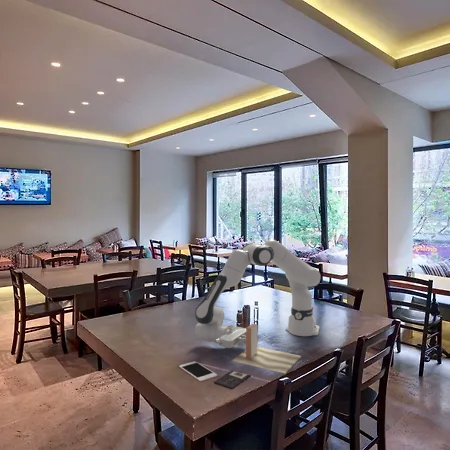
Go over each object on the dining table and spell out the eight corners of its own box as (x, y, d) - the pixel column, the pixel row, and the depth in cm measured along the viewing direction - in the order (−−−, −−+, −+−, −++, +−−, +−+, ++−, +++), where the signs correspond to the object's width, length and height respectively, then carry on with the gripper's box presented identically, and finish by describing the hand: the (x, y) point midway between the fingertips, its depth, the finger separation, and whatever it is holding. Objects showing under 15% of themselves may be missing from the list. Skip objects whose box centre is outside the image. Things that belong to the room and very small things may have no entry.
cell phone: (200, 382, 148) (200, 380, 148) (178, 367, 163) (178, 365, 163) (217, 377, 153) (217, 374, 153) (195, 362, 168) (195, 360, 168)
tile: (252, 351, 179) (252, 323, 178) (257, 353, 177) (257, 324, 177) (245, 356, 173) (246, 327, 172) (251, 358, 171) (251, 328, 171)
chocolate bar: (213, 381, 147) (238, 366, 162) (213, 384, 147) (238, 368, 162) (232, 388, 142) (255, 371, 157) (232, 390, 142) (255, 373, 157)
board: (251, 346, 187) (251, 345, 187) (301, 357, 174) (301, 355, 174) (231, 362, 168) (231, 360, 168) (285, 374, 155) (285, 373, 155)
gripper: (213, 335, 173) (238, 340, 166) (233, 323, 191) (257, 328, 184) (213, 348, 173) (238, 353, 167) (233, 335, 191) (257, 340, 184)
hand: (248, 340), depth 176 cm, fingers closed
